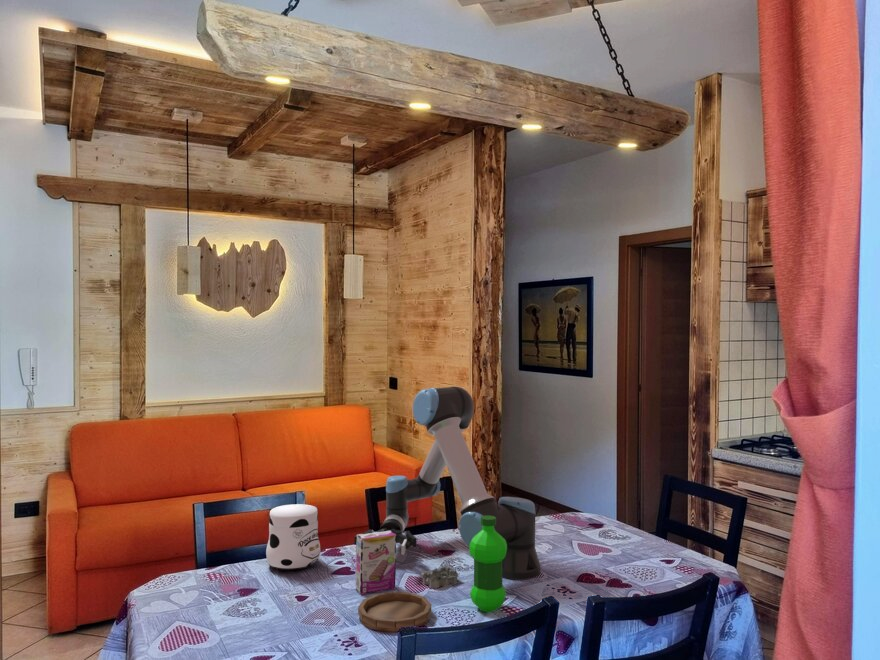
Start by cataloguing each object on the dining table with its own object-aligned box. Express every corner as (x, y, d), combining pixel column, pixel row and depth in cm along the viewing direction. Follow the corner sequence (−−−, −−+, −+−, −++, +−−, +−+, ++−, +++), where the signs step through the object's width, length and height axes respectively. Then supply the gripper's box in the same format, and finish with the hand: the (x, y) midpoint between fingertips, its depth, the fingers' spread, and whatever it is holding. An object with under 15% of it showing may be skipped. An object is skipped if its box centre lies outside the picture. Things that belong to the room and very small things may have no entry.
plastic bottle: (479, 597, 192) (479, 510, 192) (513, 605, 186) (513, 516, 186) (462, 610, 183) (463, 519, 183) (497, 618, 178) (497, 524, 178)
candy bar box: (360, 595, 193) (361, 539, 193) (355, 589, 197) (355, 534, 197) (396, 589, 198) (396, 533, 198) (390, 583, 202) (390, 529, 202)
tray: (436, 604, 187) (436, 594, 187) (422, 635, 168) (422, 623, 168) (370, 599, 190) (370, 589, 190) (349, 628, 171) (350, 617, 171)
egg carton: (432, 591, 198) (432, 577, 198) (418, 583, 204) (418, 569, 204) (461, 583, 203) (461, 569, 203) (447, 575, 210) (447, 562, 210)
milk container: (321, 572, 211) (321, 515, 211) (265, 576, 208) (265, 518, 208) (319, 554, 228) (319, 502, 228) (267, 558, 225) (267, 504, 225)
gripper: (428, 541, 226) (420, 563, 205) (356, 539, 229) (341, 560, 208) (428, 519, 226) (420, 538, 205) (356, 517, 229) (341, 535, 208)
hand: (380, 549), depth 206 cm, fingers open, 13 cm apart
